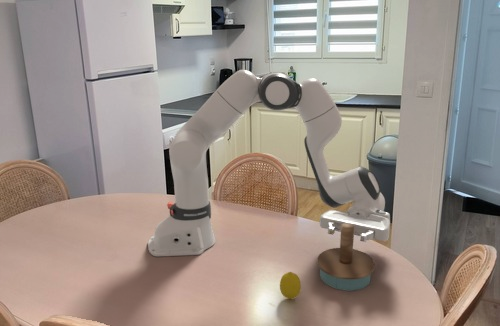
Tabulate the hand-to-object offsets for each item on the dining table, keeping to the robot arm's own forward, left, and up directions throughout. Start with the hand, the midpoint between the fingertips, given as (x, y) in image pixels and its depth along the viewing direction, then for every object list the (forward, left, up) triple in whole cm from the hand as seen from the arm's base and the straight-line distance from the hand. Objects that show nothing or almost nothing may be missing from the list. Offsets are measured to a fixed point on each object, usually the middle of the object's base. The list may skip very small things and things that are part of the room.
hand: (346, 235), depth 123 cm
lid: (+1, +1, -9) cm, 10 cm away
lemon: (-18, -5, -14) cm, 24 cm away
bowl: (+1, +1, -13) cm, 14 cm away
